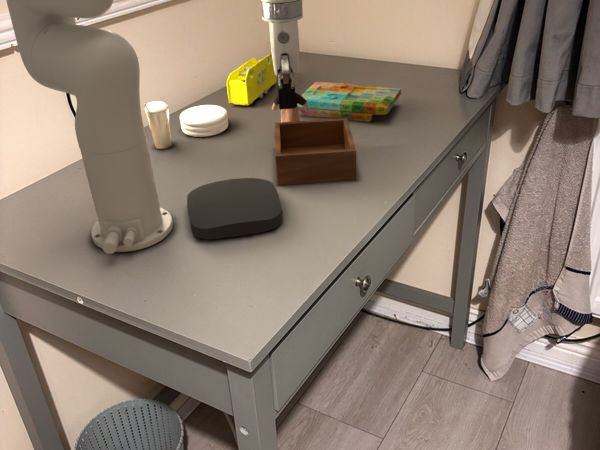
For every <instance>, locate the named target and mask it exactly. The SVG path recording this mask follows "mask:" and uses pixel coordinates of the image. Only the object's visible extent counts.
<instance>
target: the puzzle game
mask: <svg viewBox="0 0 600 450" xmlns="http://www.w3.org/2000/svg"><path fill="white" fill-rule="evenodd" d="M300 95H301V96H302V97H303V98H304V99H306V100H307V104H308V107H309V108H310V110H309V111H305V109H304V107H303V106H302V105H300V104H298V103H297V106H298V110H299V112H300V113H301V114H302V115H303V116H304V117H305V116H306V117H316V118H327V119H340V118H347V119H348V121H358V122H359V121H360V122H371V121H372V119H373V118H374V117H375V116H386V115H387V114H389V112H390V111H391V109H392V108H393V106H394V105H395V103H396V102H397V100H398V99H399V98H400V96H401V95H402V88H398V87H397V88H396V87H385V86H384V87H383V86H371V85H361V84H349V83H345V82H340V83H337V82H327V81H315V82H313V83H312V85H310V86H309V87H308V88H307V89H306V90H305V91H304V92H303V93H302V94H300Z"/></svg>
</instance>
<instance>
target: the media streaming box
mask: <svg viewBox="0 0 600 450" xmlns="http://www.w3.org/2000/svg"><path fill="white" fill-rule="evenodd" d="M186 206H187V214H188V218H189V225H190V230H191V234H192V235H194V236H195V237H197V238H199V239H203V240H218V239H226V238H233V237H240V236H246V235H251V234H259V233H264V232H268V231H269V232H270V231H271V230H273V229H276V228H277V227H279V226H280V225H281V224H282V222H283V219H284V218H283V208H282V202H281V198H280V196H279V192H278V190H277V188H276V186H275V184H274V183H273V182H272V181H269V180H267V179H263V178H257V177H241V178H230V179H223V180H218V181H213V182H210V183H207V184H206V183H205V184H202V185H200V186H197V187H196V188H194V189H193V190H191V191H190V192H188V194H187V195H186Z"/></svg>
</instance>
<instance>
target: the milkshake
mask: <svg viewBox="0 0 600 450" xmlns="http://www.w3.org/2000/svg"><path fill="white" fill-rule="evenodd" d="M143 104H144V105H143V106H144V112H145V116H146V118H147V123H148V125H149V129H150V133H151V136H152V140H153V143H154V147H155V148H156V149H157V150H166V149H168V148H170V147H172V136H171V127H170V126H171V125H170V110H169V105H168V104H167V103H166V102H165V101H161V100H158V101H156V100H153V101H151V102H147V104H146V103H143Z"/></svg>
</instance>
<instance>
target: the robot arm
mask: <svg viewBox="0 0 600 450" xmlns="http://www.w3.org/2000/svg"><path fill="white" fill-rule="evenodd" d="M113 4H114V0H6V5H7V9H8V12H9V13H8V14H9V18H10V21H11V24H12V25H11V26H12V29H13V32H14V37H15V39H16V40H15V41H16V44H17V47H18V51H19V52H18V53H19V55H20V58H21V60H22V61H21V62H22V63H23V66H24V68H25V69H26V71H27V74H28V75H29V76H30V77H31V78H32V79H33V80H34V81H35V82H36V83H38V84H39V85H41V86H43V87H45V88H48V89H51V90H53V91H58V92H62V93H66V94H68V95H71V96H74V97H75V99H76V110H75V117H74V131H75V136H76V140H77V143H78V148H79V150H80V154H81V158H82V163H83V165H84V169H85V174H86V177H87V181H88V184H89V189H90V194H91V198H92V200H93V204H94V208H95V212H96V216H97V221H96V222H94V224H93V225H92V227H91V230H90V236H91V239H92V243H94V244H95V246H96V247H98V248H100V249H102V251H103V253H104V254H108V255H112V254H115V253H116V252H117V253H126V252H134V251H140V250H142V249H146V248H149V247H151V246H153V245H156V244H157V243H160V242H161V241H162V240H164V239H165V238H166V237H167V236H169V234H170V233H171V231H172V229H173V226H174V221H173V216H172V214H171V213H170V212H169V211H168V210H167V209H165V208H163V207H161V205H160V202H159V201H160V200H159V196H158V191H157V185H156V181H155V180H156V179H155V175H154V170H153V165H152V160H151V154H150V151H149V150H150V149H149V145H148V140H147V134H146V130H145V125H144V121H143V114H142V107H141V106H142V105H141V97H140V93H141V91H140V83H141V82H140V77H141V75H140V74H141V72H140V71H141V70H140V63H139V57H138V55H137V53H136V51H135V49H134V48H133V46H132V44H131V43H130V42H128V40H127V39H125V38H124V37H123V36H121V35H120V34H118V33H116V32H114V31H111V30H109V29H105V28H100V27H95V26H90V25H83V24H77V22H76V19H95V18H98V17H102V16H103V15H105V14H106V13H107V12H108V11H109V10H110V9H111V8H112V5H113ZM260 11H261V20H262V21H264V22H268V28H269V29H268V30H269V40H270V51H271V54H272V60H273V66H274V72H275V75H276V77H277V96H278V98H279V104H278V109H279V110H281V109H295V108H296V96H295V93H296V87H294V82H293V77H294V78H295V76H294V75H297V76H299V75H301V56H300V55H301V54H300V34H299V32H300V31H299V24H298V22H299V20H301V19H303V18H304V9H303V0H260ZM281 77H283V78H281Z"/></svg>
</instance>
